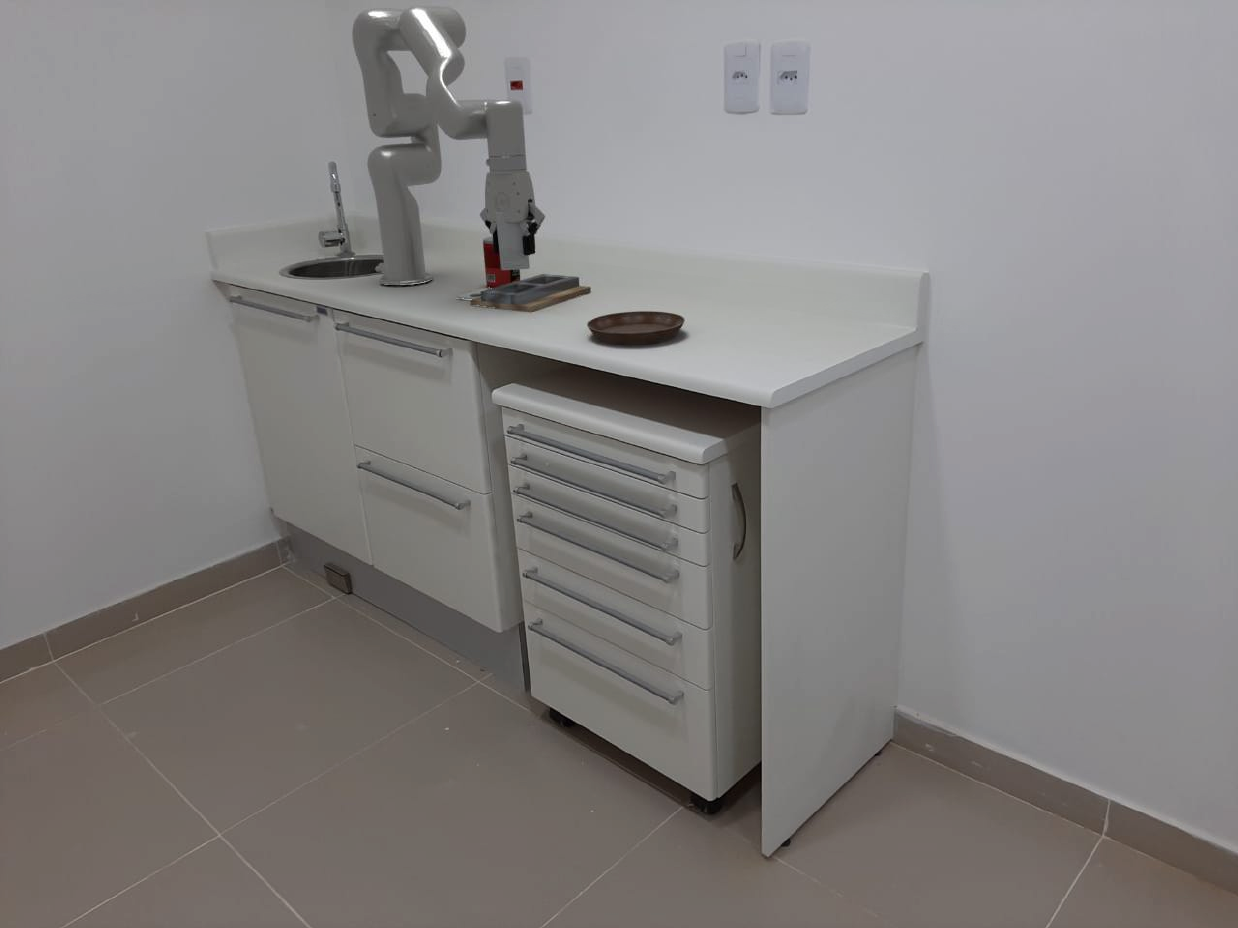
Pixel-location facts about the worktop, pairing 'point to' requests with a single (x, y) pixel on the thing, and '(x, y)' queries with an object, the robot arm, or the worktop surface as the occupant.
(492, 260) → the canned food
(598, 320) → the plant saucer
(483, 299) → the holder
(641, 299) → the worktop surface
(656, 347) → the worktop surface
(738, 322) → the worktop surface
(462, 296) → the card
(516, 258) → the skincare box
